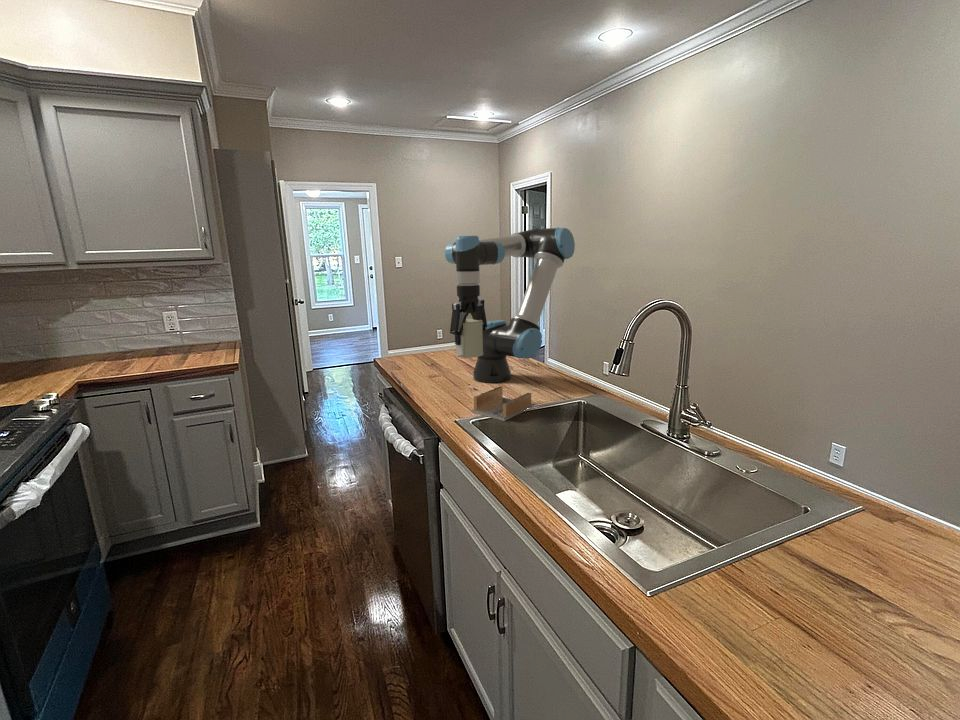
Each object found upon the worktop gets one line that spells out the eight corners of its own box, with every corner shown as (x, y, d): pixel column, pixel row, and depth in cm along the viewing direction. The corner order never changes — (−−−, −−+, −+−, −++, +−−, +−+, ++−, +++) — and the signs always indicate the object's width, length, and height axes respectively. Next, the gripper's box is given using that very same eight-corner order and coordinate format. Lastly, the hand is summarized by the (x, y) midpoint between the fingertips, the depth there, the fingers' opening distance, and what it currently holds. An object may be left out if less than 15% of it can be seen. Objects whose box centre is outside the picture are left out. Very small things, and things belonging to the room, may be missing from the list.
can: (450, 356, 160) (449, 320, 157) (464, 350, 167) (464, 316, 165) (474, 358, 155) (474, 322, 152) (488, 353, 163) (487, 318, 160)
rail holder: (501, 399, 166) (501, 385, 165) (532, 406, 158) (533, 392, 157) (471, 412, 154) (471, 397, 153) (504, 421, 146) (504, 405, 145)
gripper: (480, 281, 166) (481, 344, 171) (436, 286, 150) (439, 356, 155) (497, 282, 161) (498, 347, 167) (453, 287, 145) (456, 359, 151)
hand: (469, 351), depth 161 cm, fingers closed on can, 9 cm apart
